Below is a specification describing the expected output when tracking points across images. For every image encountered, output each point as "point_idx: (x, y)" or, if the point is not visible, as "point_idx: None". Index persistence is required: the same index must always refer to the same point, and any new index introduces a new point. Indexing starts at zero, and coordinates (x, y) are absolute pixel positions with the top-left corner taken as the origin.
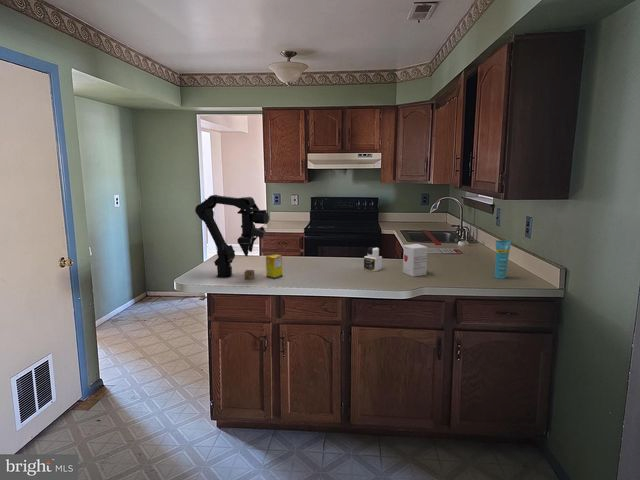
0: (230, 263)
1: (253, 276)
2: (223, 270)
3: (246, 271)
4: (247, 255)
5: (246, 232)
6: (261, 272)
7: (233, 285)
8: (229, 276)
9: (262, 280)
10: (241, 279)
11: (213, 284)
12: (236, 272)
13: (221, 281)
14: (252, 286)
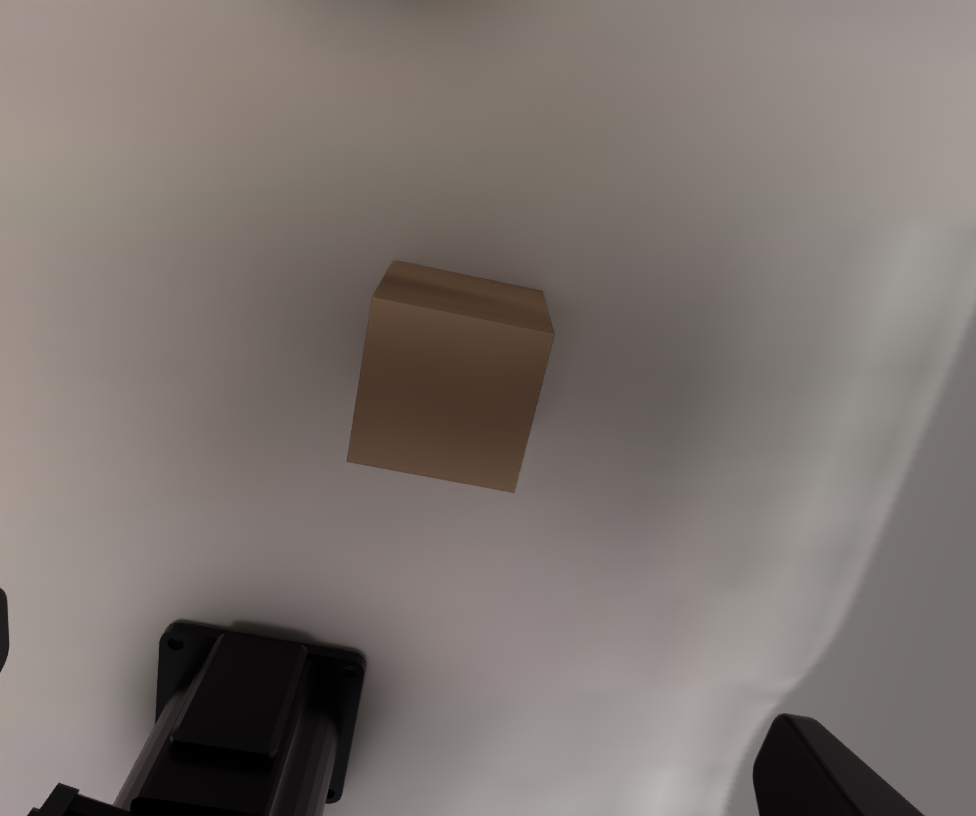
0: (138, 799)
1: (460, 283)
2: (323, 805)
3: (474, 454)
4: (830, 738)
5: None
6: (18, 109)
7: (793, 571)
8: (335, 652)
9: (630, 92)
10: None
11: (665, 793)
12: (54, 565)
13: (545, 722)
14: (959, 287)
